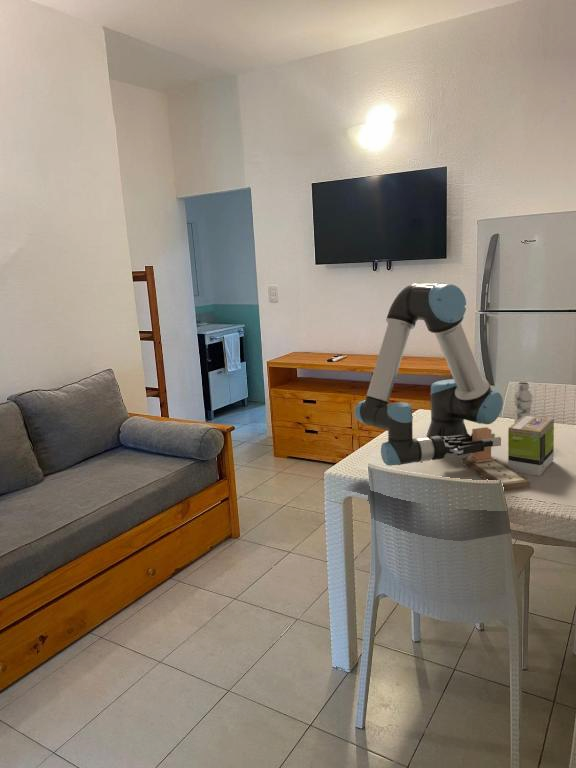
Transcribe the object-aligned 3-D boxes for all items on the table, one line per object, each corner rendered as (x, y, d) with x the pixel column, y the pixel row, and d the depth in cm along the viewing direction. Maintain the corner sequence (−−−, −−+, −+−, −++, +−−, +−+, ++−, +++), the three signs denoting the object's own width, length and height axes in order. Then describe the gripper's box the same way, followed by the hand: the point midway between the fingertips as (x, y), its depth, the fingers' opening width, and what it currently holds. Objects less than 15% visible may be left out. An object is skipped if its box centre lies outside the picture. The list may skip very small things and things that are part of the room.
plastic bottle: (535, 435, 214) (537, 383, 210) (524, 439, 210) (525, 386, 206) (520, 431, 219) (521, 380, 215) (509, 435, 216) (510, 383, 211)
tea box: (522, 456, 195) (523, 414, 191) (554, 461, 188) (555, 418, 185) (507, 470, 183) (507, 426, 180) (540, 477, 177) (541, 431, 174)
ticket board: (462, 463, 192) (462, 456, 191) (487, 460, 193) (487, 453, 193) (501, 491, 169) (501, 483, 168) (529, 487, 170) (529, 479, 170)
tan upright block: (469, 457, 190) (469, 428, 187) (486, 455, 191) (486, 426, 188) (476, 462, 185) (477, 432, 183) (494, 460, 186) (494, 430, 184)
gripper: (419, 451, 192) (484, 442, 196) (441, 468, 176) (510, 458, 180) (419, 430, 190) (484, 421, 194) (440, 445, 175) (511, 435, 179)
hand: (497, 439), depth 187 cm, fingers closed on tan upright block, 3 cm apart
